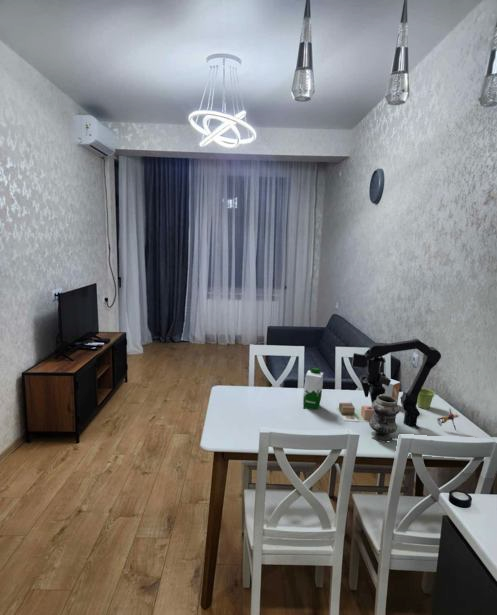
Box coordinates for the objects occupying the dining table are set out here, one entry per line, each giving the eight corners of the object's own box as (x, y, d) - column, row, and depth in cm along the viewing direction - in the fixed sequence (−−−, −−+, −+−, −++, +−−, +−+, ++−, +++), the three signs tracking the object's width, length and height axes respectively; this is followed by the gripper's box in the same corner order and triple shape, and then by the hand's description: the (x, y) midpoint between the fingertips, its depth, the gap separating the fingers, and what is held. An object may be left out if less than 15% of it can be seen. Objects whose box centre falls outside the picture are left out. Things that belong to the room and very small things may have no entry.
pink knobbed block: (374, 420, 201) (375, 409, 200) (364, 419, 200) (365, 408, 199) (370, 415, 206) (371, 405, 205) (360, 415, 205) (361, 404, 204)
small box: (390, 408, 219) (393, 384, 217) (379, 404, 224) (382, 381, 222) (397, 405, 225) (400, 381, 223) (386, 401, 229) (389, 378, 227)
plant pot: (429, 404, 229) (431, 389, 228) (435, 411, 220) (437, 395, 219) (412, 402, 230) (414, 387, 229) (417, 409, 221) (419, 393, 219)
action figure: (440, 433, 200) (458, 426, 200) (443, 436, 197) (462, 429, 198) (434, 411, 198) (452, 404, 198) (438, 413, 195) (456, 406, 195)
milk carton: (321, 405, 216) (324, 368, 213) (318, 412, 207) (322, 373, 204) (304, 402, 218) (307, 365, 215) (301, 409, 210) (304, 370, 207)
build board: (377, 424, 198) (377, 421, 198) (344, 422, 197) (344, 420, 197) (365, 410, 214) (365, 408, 214) (334, 409, 213) (335, 406, 213)
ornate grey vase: (395, 446, 178) (400, 406, 175) (366, 439, 182) (371, 400, 179) (396, 434, 189) (401, 396, 186) (368, 428, 193) (373, 391, 190)
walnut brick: (354, 415, 205) (354, 407, 204) (342, 415, 204) (342, 407, 203) (350, 410, 210) (351, 403, 210) (338, 410, 210) (339, 402, 209)
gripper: (398, 376, 191) (393, 409, 193) (382, 364, 209) (378, 394, 211) (374, 375, 190) (370, 408, 192) (360, 363, 208) (357, 393, 211)
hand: (369, 400), depth 202 cm, fingers open, 9 cm apart
